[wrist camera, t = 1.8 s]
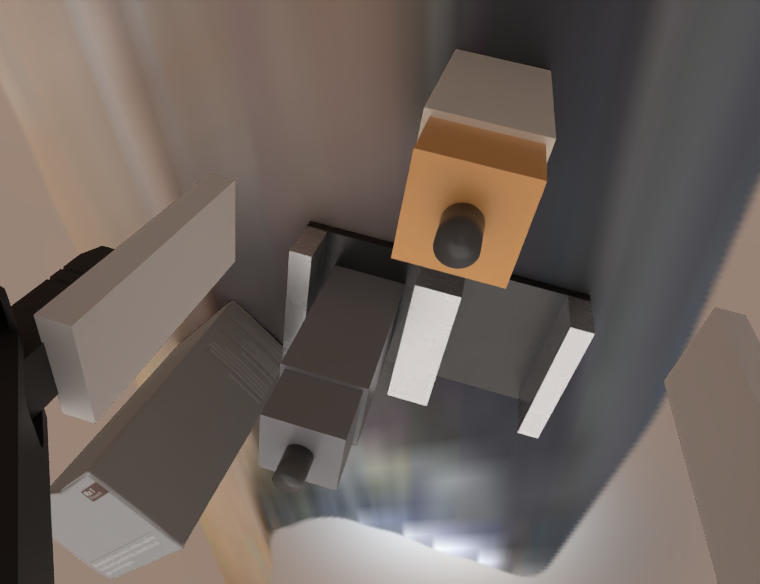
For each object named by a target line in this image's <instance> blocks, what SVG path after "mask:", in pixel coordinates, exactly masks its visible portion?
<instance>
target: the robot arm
mask: <svg viewBox="0 0 760 584" xmlns="http://www.w3.org/2000/svg"><path fill="white" fill-rule="evenodd" d="M234 262H235V180H232V179H229V178H225V177H221V176H217V175H213V174H210V173H209V174H208V175H207V176H206V177H204V178H203V179H202V180H201V181H199V182H198V183H197V184H196V185H194V186H193V187H192V188H191V189H189V190H188V191H187V192H186V193H184V194H183V195H182V196H181V197H180V198H178V199H177V200H176V201H175V202H173V203H172V204H171V205H170V206H168V207H167V208H166V209H165V210H163V211H162V212H161V213H160V214H158V215H157V216H156V217H155V218H153V219H152V220H151V221H150V222H148V223H147V224H146V225H145V226H143V227H142V228H141V229H140V230H138V231H137V232H136V233H135V234H133V235H132V236H131V237H130V238H128V239H127V240H126V241H125V242H124V243H122V244H121V245H120V246H119V247H117V248H116V249H112V248H109V247H105V246H100V247H98V248H95V249H93V250H90V251H87V252H85V253H82V254H80V255H79V256H77V257H76V258H75V259H73V260H72V261H71V262H69V263H68V264H67V265H65V266H64V268H63V270H62V269H60V270H59V271H57V272H56V273H55V274H53V275H52V276H51V277H50V280H45V281H44V282H43V283H42V284H40V285H39V286H37V287H36V288H35V289H33V290H32V291H31V292H30V293H28V294H27V295H25V296H24V297H23V298H21V299H20V300H19V301H17V302H16V303H15V304H13V305H12V306H10V303H9V299H8V297H7V294H6V291H5V289H4V288H3V287H1V286H0V584H54V566H53V544H52V520H51V498H50V475H49V453H48V431H47V417H46V414H45V410H44V407H46V406H47V405H48V404H49V403H50V402H51V400H52V399H54V397H56V395H57V396H58V399H59V403H60V406H61V409H62V413H64V414H67V415H70V416H73V417H76V418H80V419H83V420H86V421H89V422H92V423H96V422H97V421H98V420H99V419H100V418H101V417H102V415H103V414H104V413H105V412H106V411H107V410H108V408H109V407H110V406H111V405H112V404H113V403H114V401H115V400H116V399H117V398H118V397H119V396H120V394H121V393H122V392H123V391H124V390H125V389H126V387H127V386H128V385H129V384H130V383H131V382H132V381H133V379H134V378H135V377H136V376H137V375H138V374H139V372H140V371H141V370H142V369H143V368H144V367H145V365H146V364H147V363H148V362H149V361H150V360H151V358H152V357H153V356H154V355H155V354H156V353H157V352H158V350H159V349H160V348H161V347H162V346H163V345H164V343H165V342H166V341H167V340H168V339H169V338H170V336H171V335H172V334H173V333H174V332H175V331H176V329H177V328H178V327H179V326H180V325H181V324H182V322H183V321H184V320H185V319H186V318H187V317H188V316H189V314H190V313H191V312H192V311H193V310H194V309H195V307H196V306H197V305H198V304H199V303H200V302H201V300H202V299H203V298H204V297H205V296H206V295H207V293H208V292H209V291H210V290H211V289H212V288H213V286H214V285H215V284H216V283H217V282H218V281H219V280H220V278H221V277H222V276H223V275H224V274H225V273H226V271H227V270H228V269H229V268H230V267H231V266H232V264H233V263H234ZM664 383H665V387H666V391H667V394H668V398H669V402H670V406H671V409H672V413H673V417H674V421H675V424H676V428H677V432H678V436H679V439H680V443H681V447H682V451H683V454H684V458H685V462H686V465H687V469H688V473H689V477H690V481H691V484H692V488H693V492H694V496H695V500H696V503H697V507H698V511H699V514H700V518H701V522H702V526H703V530H704V533H705V537H706V541H707V545H708V549H709V552H710V556H711V560H712V564H713V567H714V571H715V574H716V579H717V582H718V584H760V342H759V340H758V339H757V336H756V334H755V332H754V330H753V329H752V327H751V325H750V323H749V321H748V319H747V317H746V315H742V314H739V313H735V312H731V311H728V310H724V309H720V308H716V307H715V308H714V310H713V311H712V312H711V314H710V315H709V317H708V319H707V320H706V321H705V323H704V324H703V325H702V327H701V328H700V330H699V331H698V333H697V334H696V336H695V337H694V338H693V340H692V341H691V343H690V344H689V346H688V347H687V349H686V350H685V351H684V353H683V354H682V356H681V357H680V359H679V360H678V362H677V363H676V364H675V366H674V367H673V369H672V370H671V372H670V373H669V375H668V376H667V377H666V379H665V380H664Z"/></svg>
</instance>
